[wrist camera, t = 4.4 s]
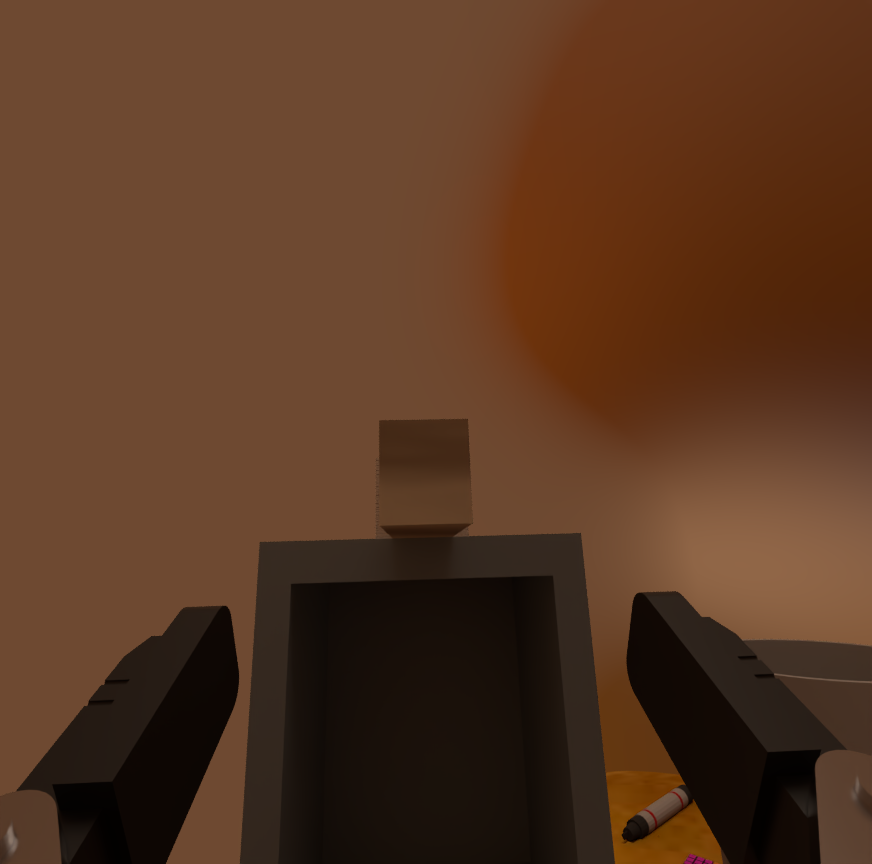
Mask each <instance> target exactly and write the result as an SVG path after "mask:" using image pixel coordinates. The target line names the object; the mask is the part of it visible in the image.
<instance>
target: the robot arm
mask: <svg viewBox="0 0 872 864" xmlns="http://www.w3.org/2000/svg"><path fill="white" fill-rule="evenodd" d="M627 671H628V676H629V680H630V684H631V686H632V689H633V691H634V693H635V695H636V697H637V699H638V700H639V702H640V704H641V706H642V708H643V709H644V711H645V713H646V715H647V717H648V718H649V720H650V722H651V723H652V725H653V727H654V729H655V731H656V733H657V734H658V736H659V738H660V740H661V742H662V743H663V745H664V747H665V749H666V751H667V752H668V754H669V756H670V758H671V759H672V761H673V763H674V765H675V766H676V768H677V770H678V772H679V774H680V776H681V777H682V779H683V781H684V783H685V784H686V786H687V788H688V790H689V792H690V793H691V795H692V797H693V799H694V801H695V802H696V804H697V806H698V808H699V809H700V811H701V813H702V815H703V817H704V818H705V820H706V822H707V824H708V826H709V827H710V829H711V831H712V833H713V834H714V836H715V838H716V840H717V842H718V843H719V845H720V847H721V849H722V851H723V852H724V854H725V856H726V858H727V859H728V861H729V863H730V864H872V756H870V755H867V754H864V753H859V752H855V751H849V750H847V749H846V748H845V747H844V746H843V745H842V744H841V743H840V742H839V741H838V740H837V738H836V737H835V736H834V735H833V734H832V733H831V732H830V731H829V730H828V729H827V728H826V727H825V726H824V725H823V724H822V723H821V722H820V721H819V720H818V719H817V718H816V717H815V716H814V715H813V713H812V712H811V711H810V710H809V709H808V708H807V707H806V706H805V705H804V704H803V703H802V702H801V701H800V700H799V699H798V698H797V697H796V696H795V695H794V694H793V693H792V692H791V691H790V690H789V688H788V687H787V686H786V685H785V684H784V683H783V682H782V681H781V680H780V679H779V678H778V679H776V678H775V676H774V673H773V672H772V671H771V670H770V669H769V668H768V667H767V666H766V665H765V664H764V662H763V661H762V660H758V659H757V655H756V654H755V653H754V652H753V651H752V650H751V649H750V648H749V647H748V646H747V645H746V644H745V643H744V642H743V641H742V640H741V639H740V638H739V636H737V635H736V634H735V633H733V632H732V631H730V630H729V629H727V628H726V627H724V626H722V625H721V624H719V623H718V622H716V621H715V620H713V619H711V618H710V617H701V616H700V615H699V614H698V612H697V611H696V610H695V609H694V608H693V607H692V606H691V605H690V604H689V602H688V601H687V600H686V599H685V598H684V597H683V596H682V595H681V594H680V593H678V592H676V591H674V592H673V591H672V592H644V593H637V594H636V595H635V597H634V600H633V605H632V614H631V623H630V632H629V641H628V649H627ZM238 685H239V669H238V662H237V655H236V648H235V641H234V633H233V626H232V619H231V614H230V611H229V609H228V607H227V606H208V607H207V606H206V607H185V608H183V609H182V610H181V611H180V612H179V614H178V615H177V616H176V618H175V619H174V621H173V622H172V623H171V624H170V626H169V627H168V629H167V630H166V631H165V633H164V634H163V635H162V636H151V637H150V638H149V639H147V640H146V641H145V642H143V643H142V644H141V645H139V646H138V647H136V648H135V649H134V650H132V651H131V652H130V653H128V654H127V655H126V656H124V658H123V659H122V660H121V661H120V662H119V664H118V665H117V666H116V667H115V669H114V670H113V671H112V672H111V674H110V675H109V676H108V677H107V679H106V680H105V684H104V685H101V686H100V687H99V689H98V690H97V691H96V692H95V693H94V695H93V696H92V697H91V699H90V700H89V703H88V706H84V707H83V709H82V710H81V711H80V712H79V713H78V715H77V716H76V717H75V719H74V720H73V721H72V722H71V723H70V725H69V726H68V727H67V729H66V730H65V731H64V732H63V733H62V735H61V736H60V737H59V738H58V740H57V741H56V742H55V743H54V745H53V746H52V747H51V748H50V750H49V751H48V752H47V753H46V755H45V756H44V757H43V758H42V760H41V761H40V762H39V763H38V764H37V766H36V767H35V768H34V769H33V771H32V772H31V773H30V774H29V776H28V777H27V778H26V780H25V781H24V782H23V783H22V785H21V786H20V787H19V788H18V789H17V791H16V792H12V793H8V794H5V795H3V796H0V864H166V862H167V860H168V857H169V855H170V852H171V850H172V848H173V846H174V844H175V841H176V839H177V837H178V834H179V832H180V830H181V827H182V825H183V823H184V820H185V818H186V816H187V814H188V811H189V809H190V807H191V805H192V802H193V800H194V798H195V795H196V793H197V791H198V789H199V786H200V784H201V782H202V779H203V777H204V775H205V773H206V770H207V768H208V765H209V763H210V761H211V759H212V756H213V754H214V752H215V750H216V747H217V745H218V743H219V740H220V738H221V736H222V733H223V731H224V729H225V727H226V724H227V722H228V719H229V717H230V715H231V713H232V710H233V708H234V705H235V702H236V698H237V693H238Z"/></svg>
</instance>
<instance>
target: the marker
mask: <svg viewBox="0 0 872 864" xmlns="http://www.w3.org/2000/svg"><path fill="white" fill-rule="evenodd" d="M692 801H693V797H692V795H691V793H690V792H689V790H688V788H687V786H685V785H680V786H679V787H677V788H675V789H673V790H672V791H670V792H669V793H667V794H666V795H665V796H663V797H662V798H660V799H659V800H657V801H656V802H654V803H653V804H651V805H650V806H648V807H647V808H645V809H644V810H642V811H641V812H639V813H638V814H636V815H635V816H634V817H633V818H631V819H630V820H628V822H627V826H626V827H625V828H624V830H623V834H622V836H623V839H624V840H625V839H627V840H629V841H631V840H634V839H636V838H639V839H642V838H643V837H644V836H646V835H647V834H649V833H651V832H652V831H653V830H655V829H656V828H657V827H659V826H660V825H661V824H663V823H664V822H665V821H667V820H668V819H669V818H671V817H672V816H673V815H675V814H676V813H678V812H679V811H680V810H682V809H683V808H684V807H686V806H687V805H688V804H689V803H690V802H692Z"/></svg>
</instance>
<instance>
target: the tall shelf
mask: <svg viewBox="0 0 872 864" xmlns="http://www.w3.org/2000/svg"><path fill="white" fill-rule="evenodd" d="M250 694H251V695H250V709H249V710H250V711H249V726H248V743H247V759H246V775H245V790H244V807H243V823H242V839H241V855H240V864H615V861H614V851H613V841H612V831H611V822H610V812H609V802H608V793H607V783H606V773H605V764H604V754H603V744H602V736H601V735H602V734H601V725H600V715H599V705H598V695H597V686H596V677H595V666H594V657H593V647H592V637H591V627H590V618H589V608H588V598H587V589H586V579H585V569H584V559H583V550H582V540H581V533H573V534H538V535H502V536H501V535H500V536H464V537H428V538H392V539H357V540H326V541H325V540H322V541H321V540H320V541H287V542H260V549H259V564H258V580H257V596H256V613H255V629H254V645H253V661H252V677H251V693H250Z"/></svg>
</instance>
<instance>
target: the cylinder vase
mask: <svg viewBox="0 0 872 864" xmlns="http://www.w3.org/2000/svg"><path fill="white" fill-rule="evenodd" d="M742 641H743V642H744V643H745V644H746V645H747V646H748V647H749V648H750V649H751V650H752V651H753V652H754V653H755V654H756V655H757V659H758V660H762V661H763V662H764V664H765V665H766V666H767V667H768V668H769V669H770V670H771V671H772V672H773V673H774V676H775V678H776V679H778V678H779V679H780V680H781V681H782V682H783V683H784V684H785V685H786V686H787V687H788V688H789V690H790V691H791V692H792V693H793V694H794V695H795V696H796V697H797V698H798V699H799V700H800V701H801V702H802V703H803V704H804V705H805V706H806V707H807V708H808V709H809V710H810V711H811V712H812V713H813V715H814V716H815V717H816V718H817V719H818V720H819V721H820V722H821V723H822V724H823V725H824V726H825V727H826V728H827V729H828V730H829V731H830V732H831V733H832V734H833V735H834V736H835V737H836V738H837V740H838V741H839V742H840V743H841V744H842V745H843V746H844V747H845V748H846V749H847V750H849V751H855V752H859V753H864V754H867V755H870V756H872V646H871V645H861V644H852V643H840V642H827V641H810V640H787V639H745V640H742ZM721 854H722V860H723V864H730V863H729V861H728V859H727V858H726V856H725V854H724V852H723V851H722V849H721Z"/></svg>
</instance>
